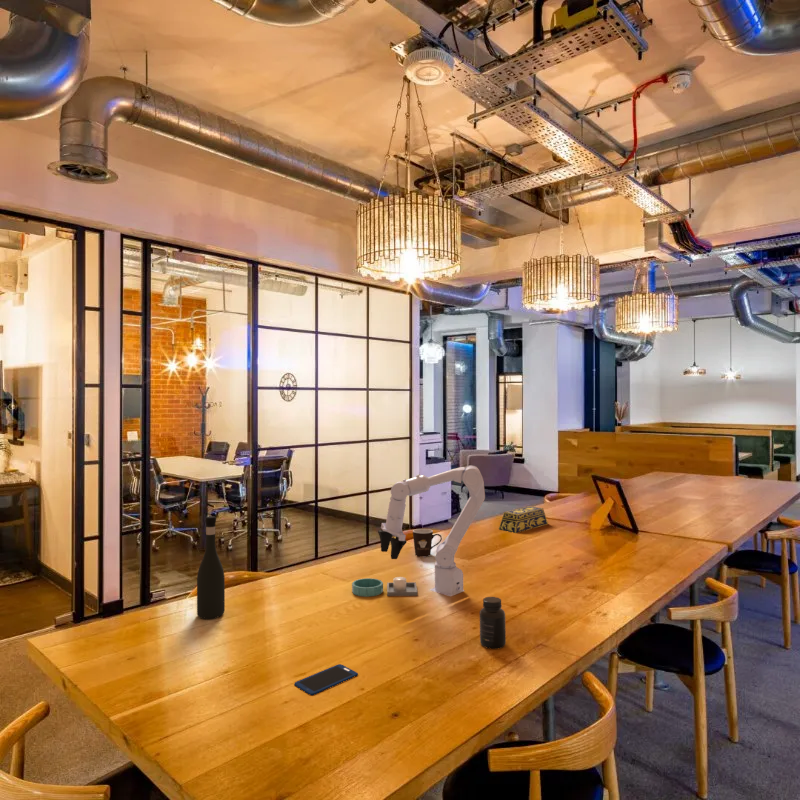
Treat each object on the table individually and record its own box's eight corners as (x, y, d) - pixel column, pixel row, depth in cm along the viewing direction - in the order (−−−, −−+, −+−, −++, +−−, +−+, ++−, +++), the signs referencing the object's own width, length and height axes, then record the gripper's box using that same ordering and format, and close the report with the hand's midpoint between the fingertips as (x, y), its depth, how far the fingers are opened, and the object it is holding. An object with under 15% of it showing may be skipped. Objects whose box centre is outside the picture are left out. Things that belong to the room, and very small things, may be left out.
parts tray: (415, 587, 200) (415, 582, 200) (417, 597, 190) (417, 591, 190) (387, 587, 199) (387, 582, 199) (387, 597, 189) (387, 592, 189)
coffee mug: (409, 555, 240) (409, 531, 240) (418, 550, 248) (418, 527, 248) (434, 559, 235) (434, 534, 235) (442, 554, 243) (442, 530, 243)
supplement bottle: (488, 636, 158) (488, 593, 158) (510, 643, 154) (510, 598, 154) (474, 644, 153) (474, 600, 153) (497, 652, 148) (497, 605, 148)
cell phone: (359, 676, 136) (359, 673, 136) (311, 697, 127) (311, 694, 127) (340, 666, 142) (340, 663, 142) (292, 686, 132) (292, 682, 132)
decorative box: (548, 524, 301) (548, 507, 301) (515, 534, 280) (515, 515, 280) (531, 521, 309) (530, 505, 309) (497, 530, 288) (497, 512, 288)
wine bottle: (196, 612, 177) (196, 515, 177) (223, 609, 179) (223, 513, 179) (197, 621, 169) (197, 520, 169) (225, 618, 172) (225, 518, 172)
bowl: (388, 592, 194) (388, 582, 194) (366, 600, 187) (366, 590, 187) (368, 586, 201) (368, 576, 201) (346, 593, 194) (346, 583, 194)
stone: (408, 590, 195) (408, 578, 195) (400, 593, 191) (400, 581, 191) (399, 587, 198) (399, 576, 198) (390, 590, 194) (390, 579, 194)
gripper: (376, 510, 202) (369, 548, 202) (394, 521, 189) (388, 562, 189) (393, 511, 205) (387, 548, 205) (413, 522, 192) (406, 562, 193)
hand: (388, 555), depth 198 cm, fingers open, 7 cm apart
